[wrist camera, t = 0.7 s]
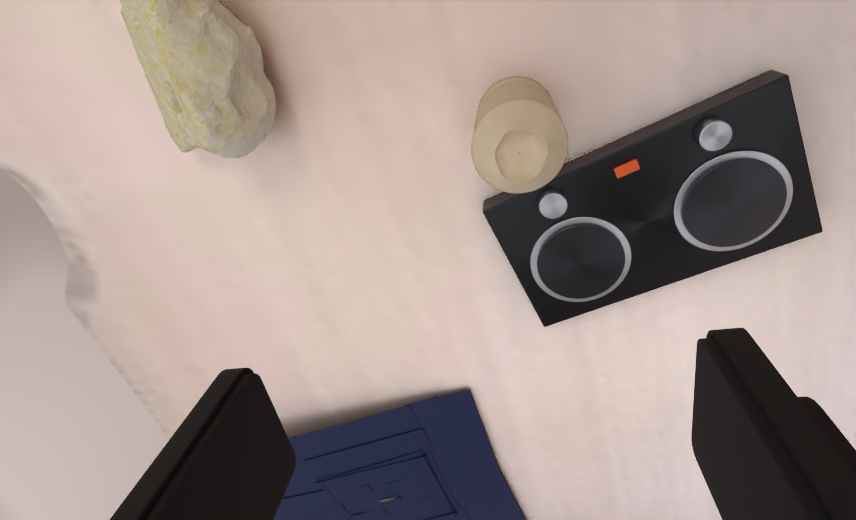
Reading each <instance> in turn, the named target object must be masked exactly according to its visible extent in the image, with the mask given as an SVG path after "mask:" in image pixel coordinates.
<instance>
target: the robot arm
mask: <svg viewBox="0 0 856 520" xmlns="http://www.w3.org/2000/svg"><path fill="white" fill-rule="evenodd" d="M692 446H693V451H694V454H695V457H696V460H697V462H698V464H699V467H700V469H701V471H702V474H703V476H704V478H705V480H706V483H707V485H708V487H709V490H710V492H711V494H712V497H713V499H714V501H715V503H716V506H717V508H718V510H719V513H720V515H721V517H722V520H856V450H855V449H854V448H853V447H852V445H851V444H850V443H849V442H848V440H847V439H846V438H845V437H844V435H843V434H842V433H841V432H840V430H839V429H838V428H837V426H836V425H835V424H834V423H833V421H832V420H831V419H830V418H829V416H828V415H827V414H826V413H825V411H824V410H823V409H822V408H821V407H820V406H819V405H818V404H817V403H816V402H815V401H814V400H813V399H811V398H809V397H797V396H796V395H795V393H794V392H793V391H792V389H791V388H790V387H789V385H788V384H787V383H786V382H785V380H784V379H783V378H782V376H781V375H780V374H779V372H778V371H777V370H776V368H775V367H774V366H773V364H772V363H771V362H770V360H769V359H768V358H767V357H766V355H765V354H764V353H763V351H762V350H761V349H760V347H759V346H758V345H757V343H756V342H755V341H754V339H753V338H752V337H751V335H750V334H749V333H748V332H747V331H746V330H745V329H744V328H733V329H721V330H710V331H709V332H708V334H707V338H705V339H699V340H698V342H697V353H696V371H695V388H694V405H693V422H692ZM295 467H296V455H295V452H294V450H293V448H292V446H291V444H290V441H289V439H288V437H287V435H286V433H285V430H284V428H283V426H282V424H281V422H280V419H279V417H278V415H277V413H276V411H275V408H274V406H273V404H272V402H271V400H270V397H269V395H268V393H267V391H266V389H265V386H264V384H263V382H262V380H261V378H260V376H259V375H258V374H254V372H253V371H252V370H251V369H250V368H238V369H226V370H223V371H222V372H221V373H220V374H219V375H218V376H217V377H216V379H215V380H214V381H213V383H212V384H211V385H210V387H209V388H208V389H207V391H206V392H205V393H204V395H203V396H202V397H201V399H200V400H199V401H198V403H197V404H196V405H195V407H194V408H193V409H192V411H191V412H190V413H189V415H188V416H187V417H186V419H185V420H184V421H183V423H182V424H181V425H180V427H179V428H178V429H177V431H176V432H175V433H174V435H173V436H172V437H171V439H170V440H169V442H168V443H167V444H166V446H165V447H164V448H163V449H162V451H161V452H160V453H159V455H158V456H157V458H156V459H155V460H154V461H153V463H152V464H151V465H150V467H149V468H148V470H147V471H146V472H145V473H144V475H143V476H142V477H141V479H140V480H139V481H138V483H137V484H136V485H135V487H134V488H133V489H132V491H131V492H130V493H129V495H128V496H127V497H126V499H125V500H124V501H123V503H122V504H121V505H120V507H119V508H118V509H117V511H116V512H115V513H114V515H113V516H112V517H111V519H110V520H273V519H274V517H275V514H276V512H277V510H278V508H279V505H280V503H281V501H282V498H283V496H284V494H285V491H286V489H287V487H288V485H289V482H290V480H291V478H292V475H293V473H294V470H295Z"/></svg>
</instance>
